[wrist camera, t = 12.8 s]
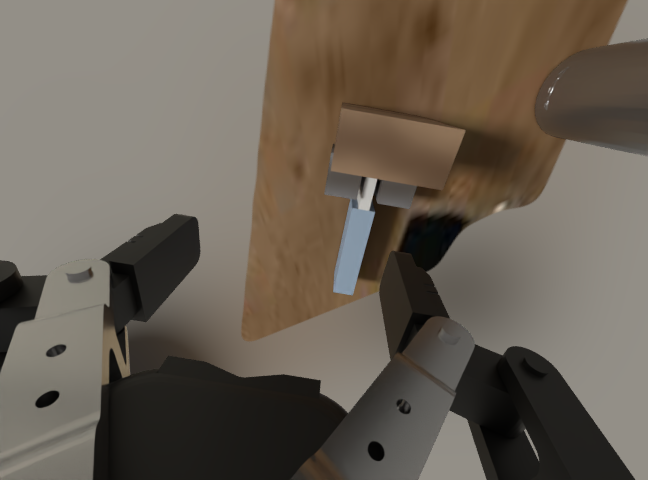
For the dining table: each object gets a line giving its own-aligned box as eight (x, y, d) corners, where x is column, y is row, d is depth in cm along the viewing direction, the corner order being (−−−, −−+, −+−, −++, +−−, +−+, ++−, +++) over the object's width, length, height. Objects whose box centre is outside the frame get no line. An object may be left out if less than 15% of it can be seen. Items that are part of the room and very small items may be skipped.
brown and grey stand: (340, 102, 34) (337, 107, 21) (423, 117, 34) (469, 130, 21) (327, 180, 38) (319, 221, 26) (400, 193, 38) (426, 240, 26)
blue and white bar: (358, 160, 37) (360, 169, 32) (380, 164, 37) (385, 173, 32) (334, 272, 46) (333, 292, 41) (351, 275, 46) (352, 295, 42)
